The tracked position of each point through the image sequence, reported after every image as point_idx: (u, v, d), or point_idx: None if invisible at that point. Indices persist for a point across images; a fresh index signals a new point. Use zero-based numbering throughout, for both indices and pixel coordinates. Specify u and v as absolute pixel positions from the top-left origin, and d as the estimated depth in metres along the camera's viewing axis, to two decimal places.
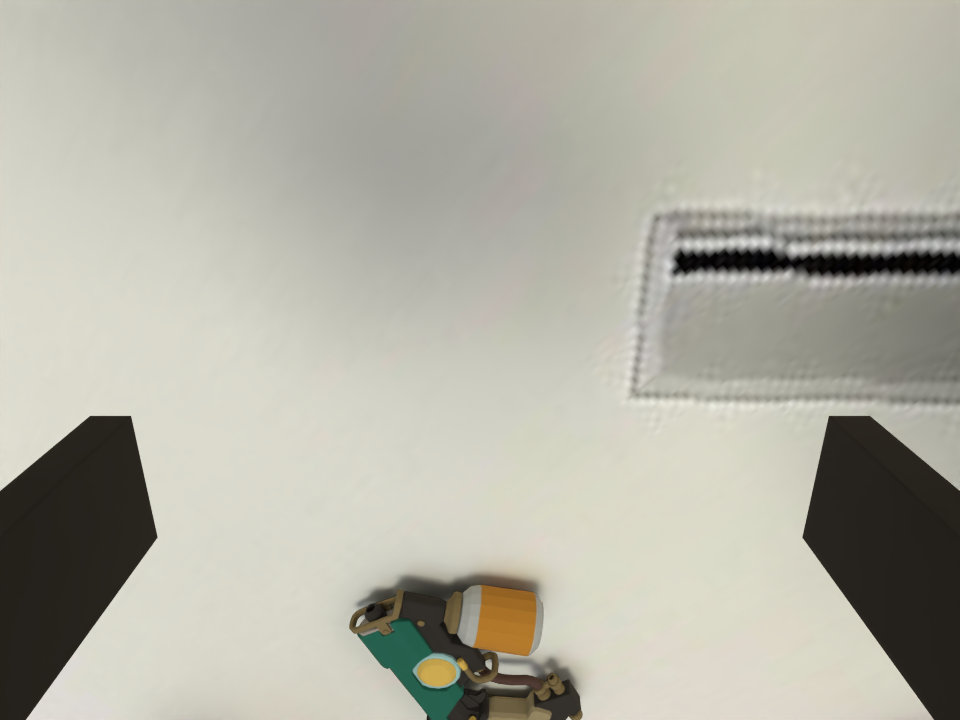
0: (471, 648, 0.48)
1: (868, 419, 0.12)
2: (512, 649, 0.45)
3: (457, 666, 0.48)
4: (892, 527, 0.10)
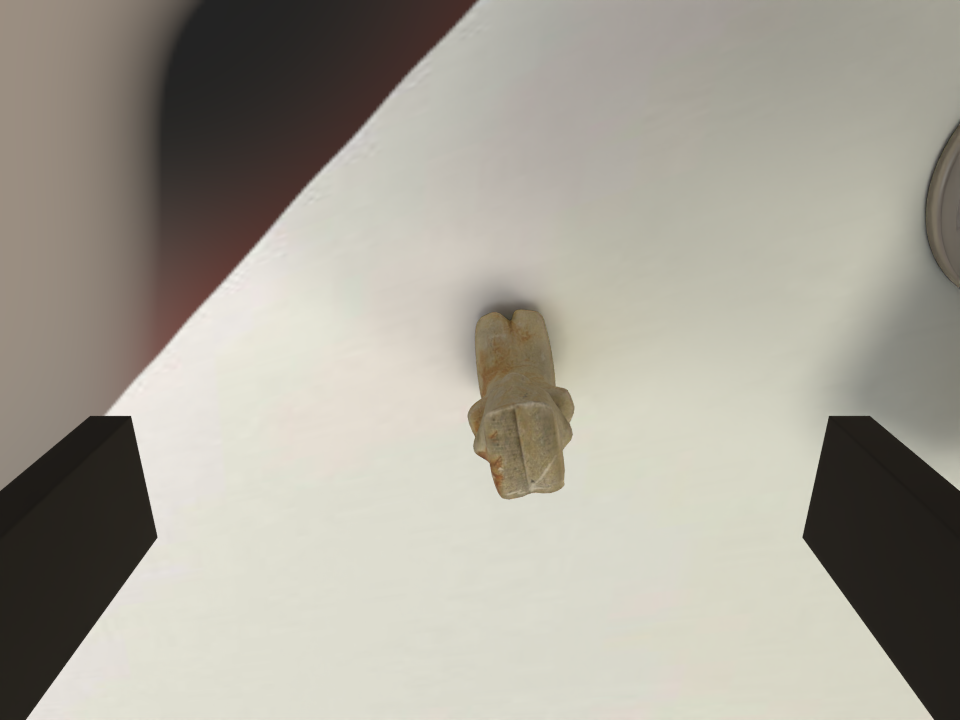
0: None
1: (868, 419, 0.12)
2: None
3: None
4: (892, 527, 0.10)
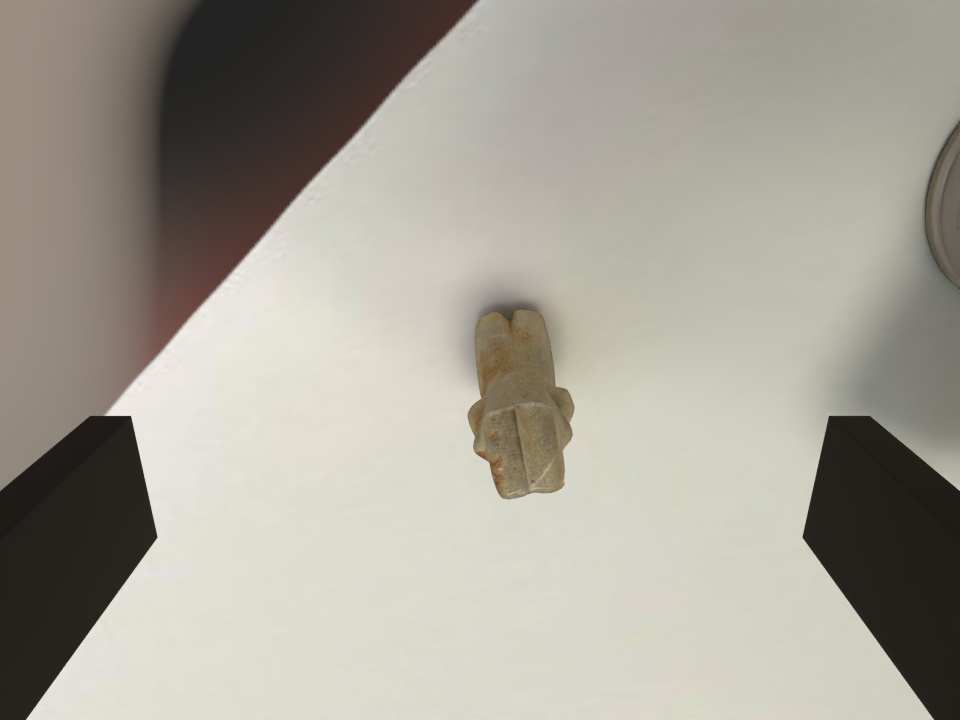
0: None
1: (868, 419, 0.12)
2: None
3: None
4: (892, 527, 0.10)
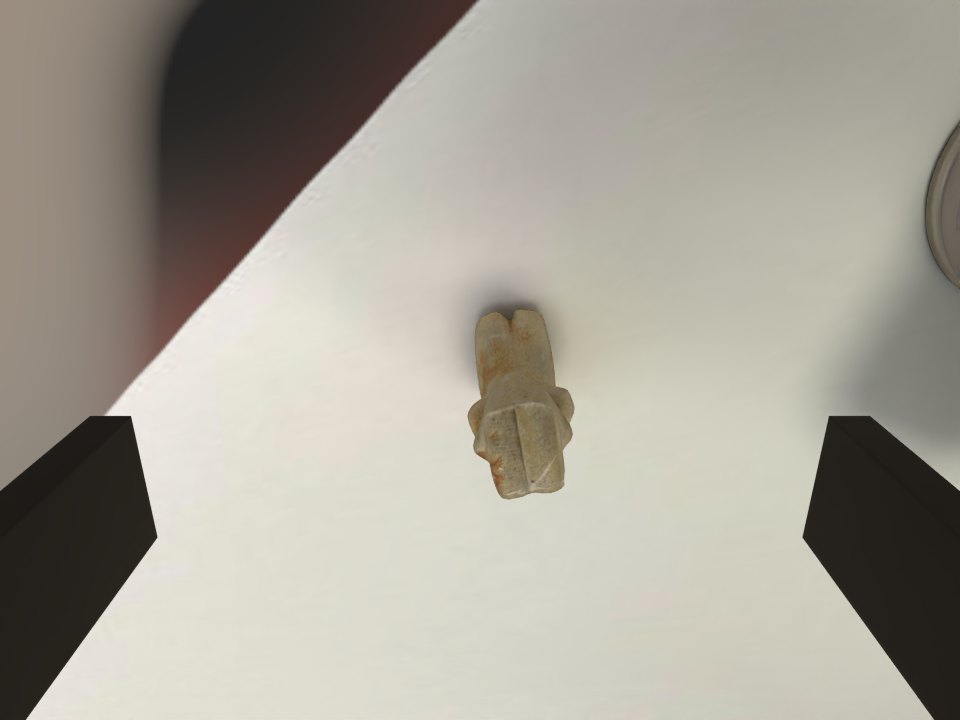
0: None
1: (868, 419, 0.12)
2: None
3: None
4: (892, 527, 0.10)
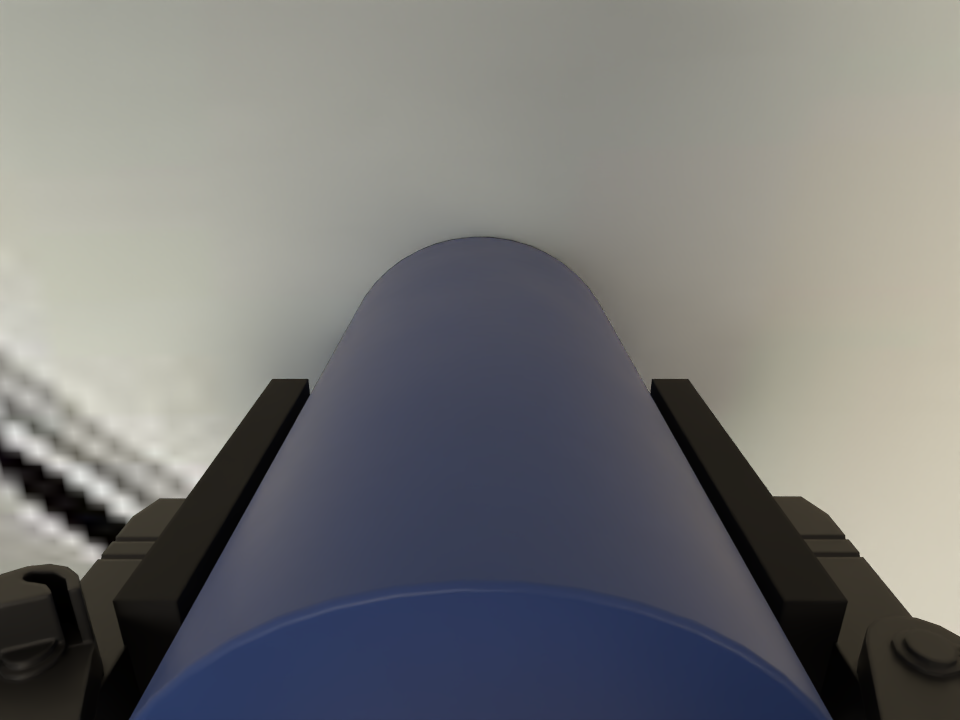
0: None
1: (686, 382, 0.14)
2: None
3: None
4: None
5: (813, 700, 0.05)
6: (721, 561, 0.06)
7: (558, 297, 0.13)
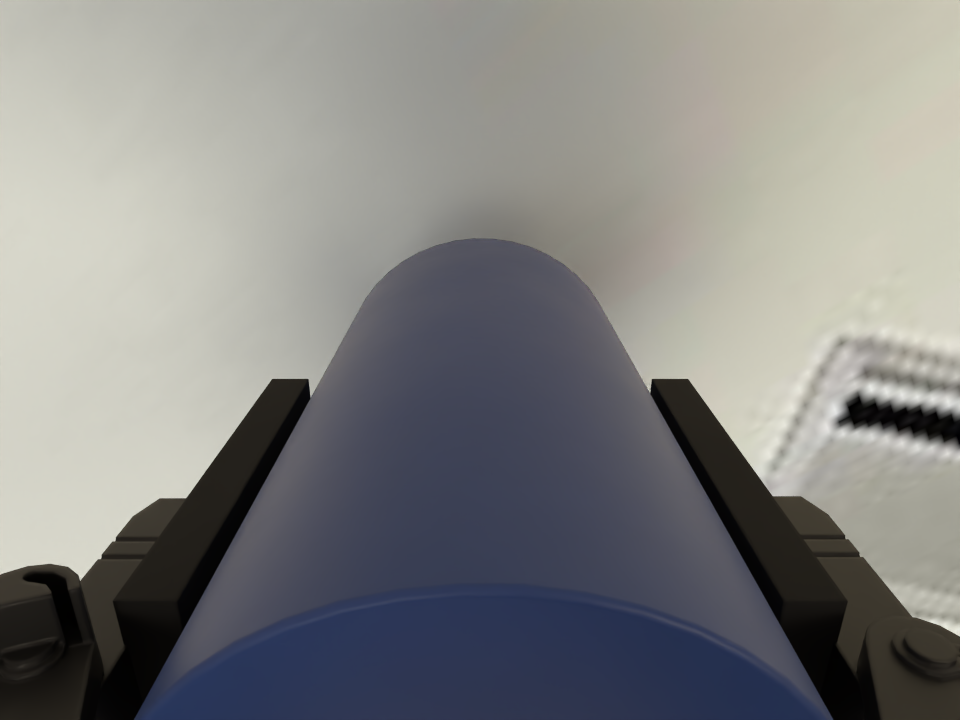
0: None
1: (686, 381, 0.14)
2: None
3: None
4: None
5: (815, 703, 0.05)
6: (722, 563, 0.06)
7: (559, 299, 0.13)
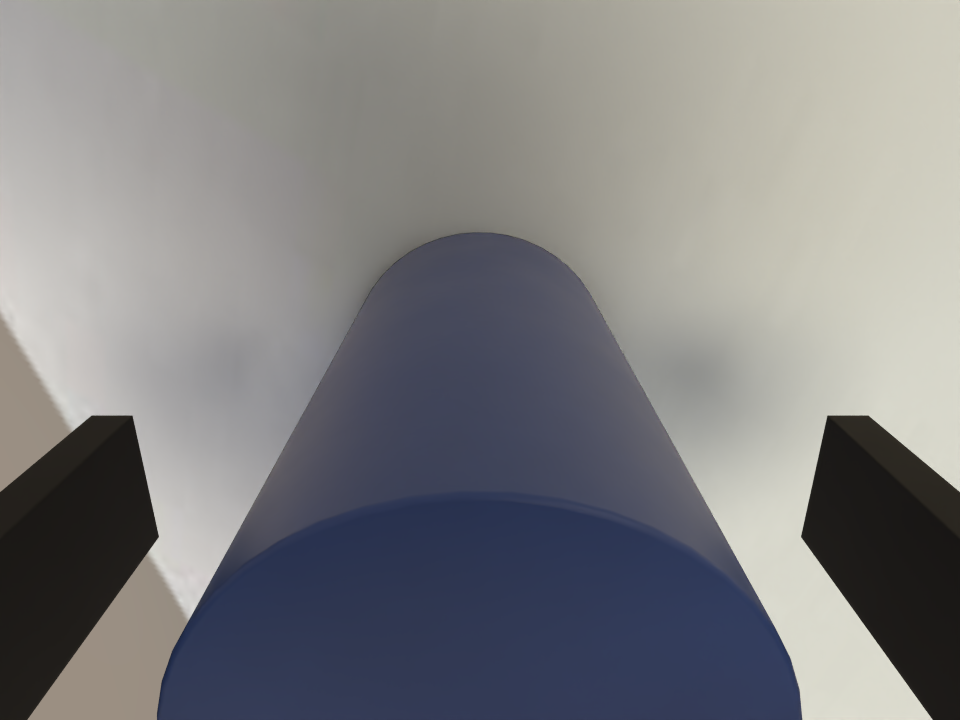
0: None
1: (866, 419, 0.12)
2: None
3: None
4: (890, 526, 0.10)
5: (749, 595, 0.07)
6: (681, 493, 0.08)
7: (550, 285, 0.14)
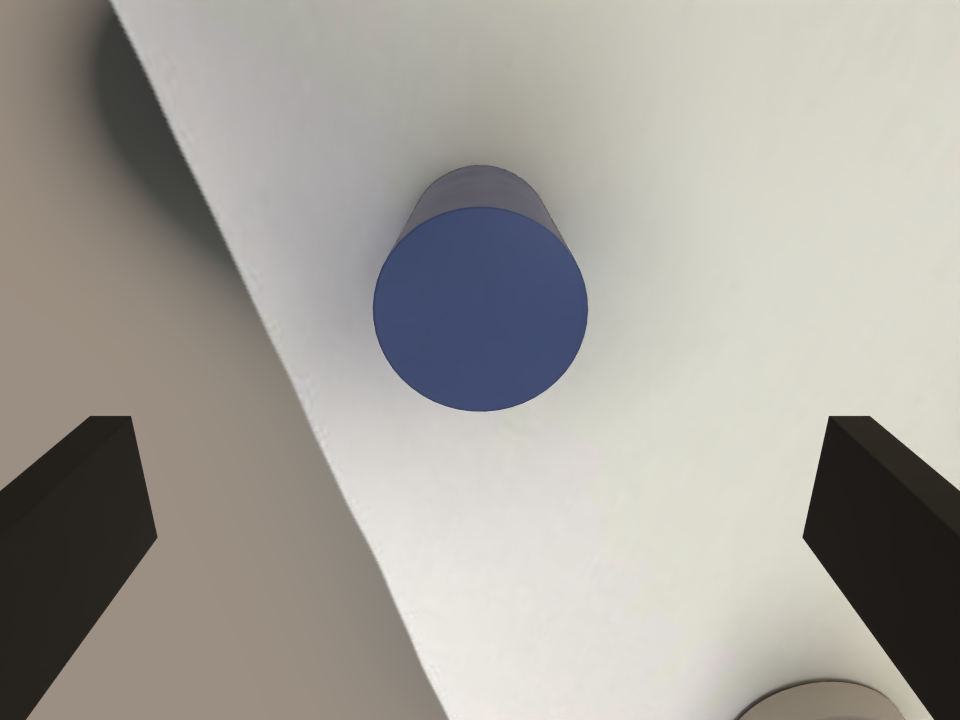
0: None
1: (868, 419, 0.12)
2: None
3: None
4: (891, 527, 0.10)
5: (564, 245, 0.21)
6: (549, 226, 0.22)
7: (515, 183, 0.29)
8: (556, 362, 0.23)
